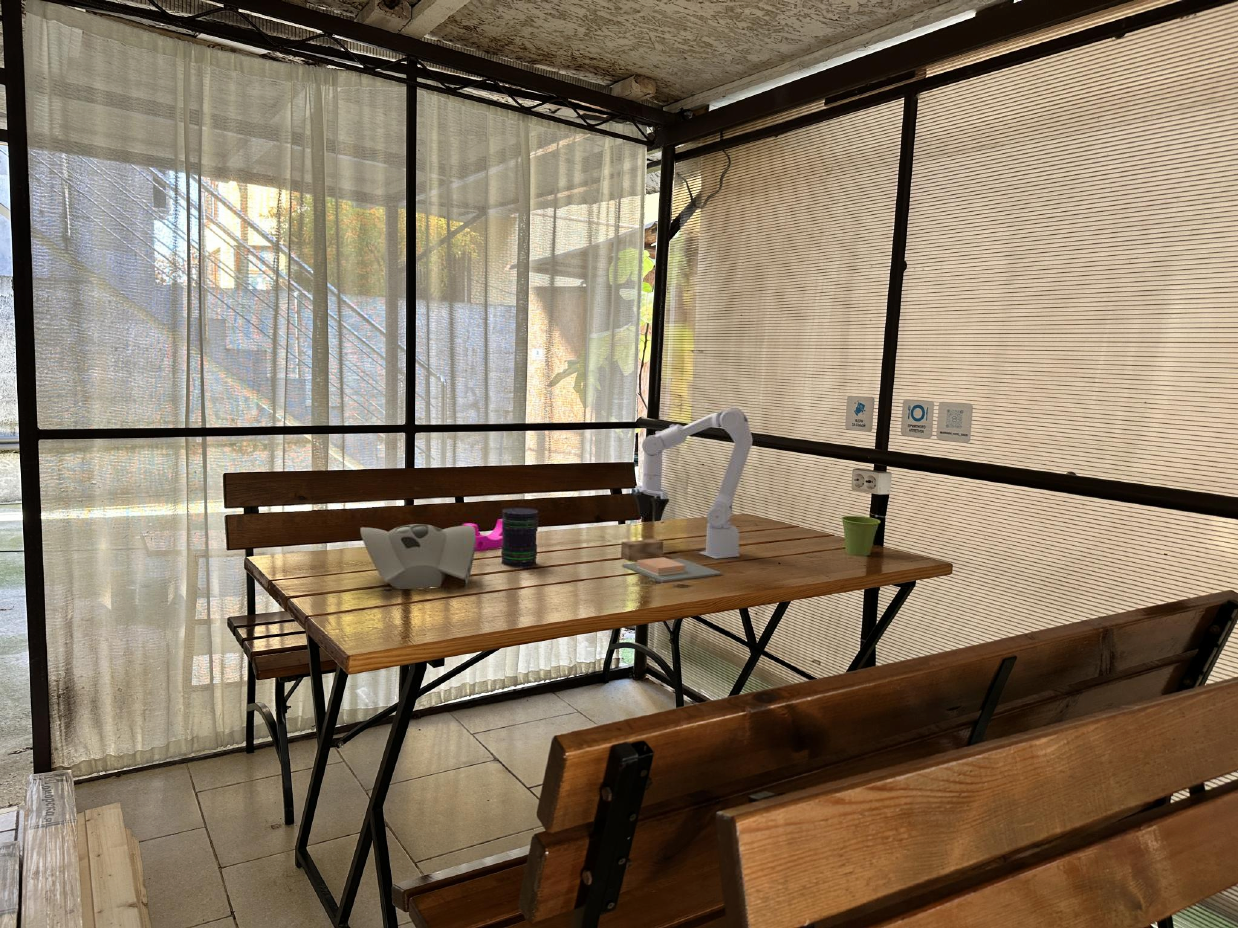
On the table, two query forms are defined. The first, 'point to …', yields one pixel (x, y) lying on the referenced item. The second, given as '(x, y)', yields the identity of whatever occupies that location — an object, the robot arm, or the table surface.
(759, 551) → the table surface
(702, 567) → the slate mat
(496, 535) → the toy block
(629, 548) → the brown wooden block
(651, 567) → the tile
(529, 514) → the storage jar
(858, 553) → the plant pot
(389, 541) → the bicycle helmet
